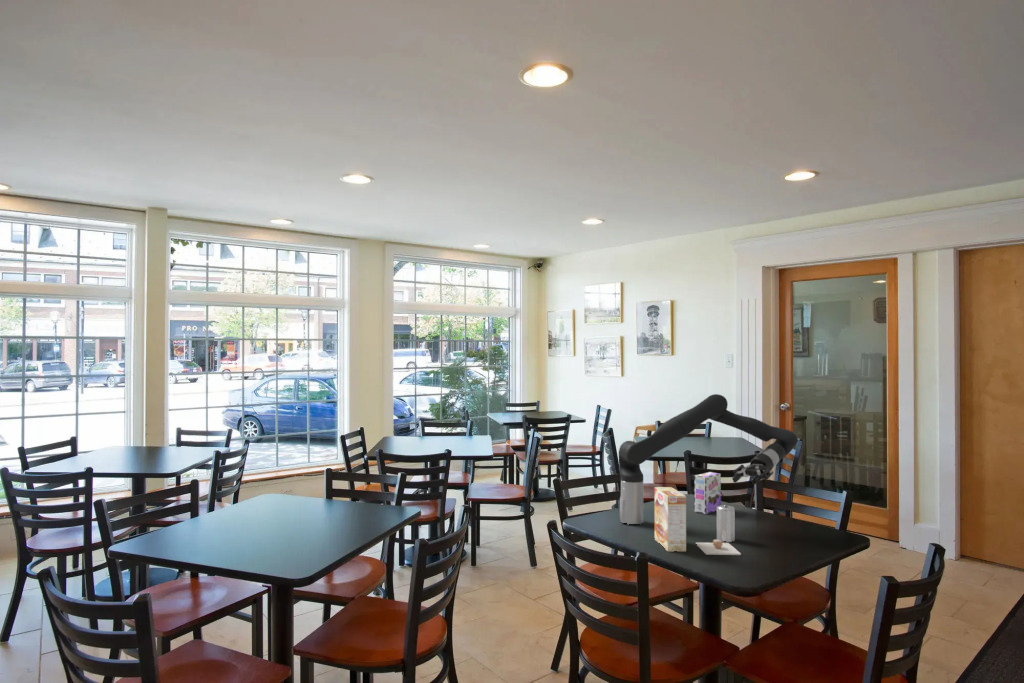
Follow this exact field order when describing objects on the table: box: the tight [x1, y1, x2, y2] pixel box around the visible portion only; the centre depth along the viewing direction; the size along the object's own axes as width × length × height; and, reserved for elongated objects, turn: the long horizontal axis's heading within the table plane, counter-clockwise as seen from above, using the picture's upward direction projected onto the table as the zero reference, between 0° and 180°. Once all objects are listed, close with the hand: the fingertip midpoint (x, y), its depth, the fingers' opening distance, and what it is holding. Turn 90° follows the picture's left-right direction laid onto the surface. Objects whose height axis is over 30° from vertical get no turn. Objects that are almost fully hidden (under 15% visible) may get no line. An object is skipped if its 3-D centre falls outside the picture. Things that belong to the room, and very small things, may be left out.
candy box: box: [693, 471, 722, 515], centre depth 264 cm, size 14×6×16 cm, turn 132°
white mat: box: [695, 541, 742, 556], centre depth 209 cm, size 12×12×1 cm
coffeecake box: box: [653, 486, 687, 553], centre depth 213 cm, size 15×7×20 cm, turn 4°
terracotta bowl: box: [712, 538, 723, 549], centre depth 209 cm, size 3×3×3 cm
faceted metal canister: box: [716, 504, 736, 543], centre depth 221 cm, size 6×6×13 cm
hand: (743, 481), depth 227 cm, fingers open, 8 cm apart
